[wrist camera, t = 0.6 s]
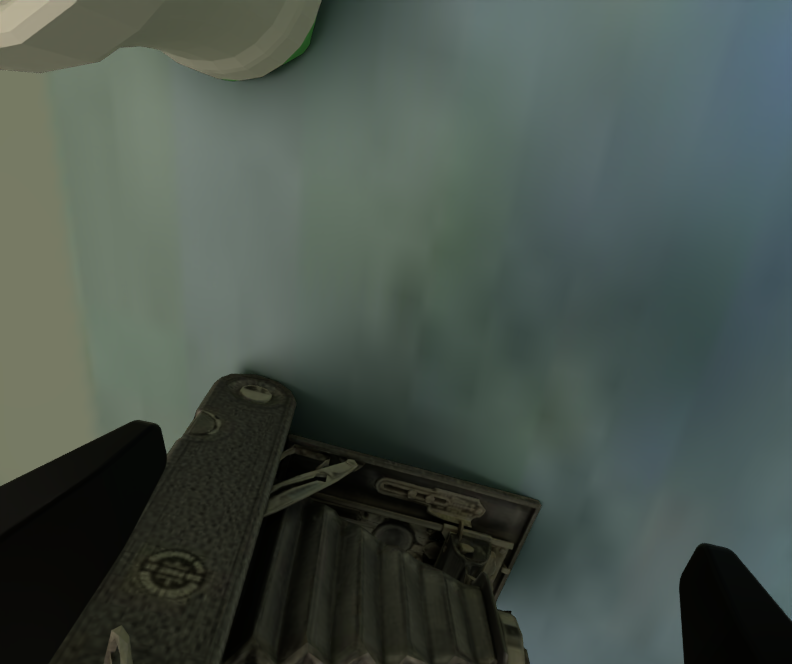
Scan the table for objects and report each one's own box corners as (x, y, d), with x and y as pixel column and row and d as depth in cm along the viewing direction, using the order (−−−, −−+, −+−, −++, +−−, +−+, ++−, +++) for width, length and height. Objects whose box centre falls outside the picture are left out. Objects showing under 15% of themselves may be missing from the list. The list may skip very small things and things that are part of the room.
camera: (460, 588, 33) (596, 1210, 14) (168, 514, 30) (-169, 1158, 11) (537, 428, 29) (853, 942, 11) (220, 330, 27) (-125, 780, 8)
